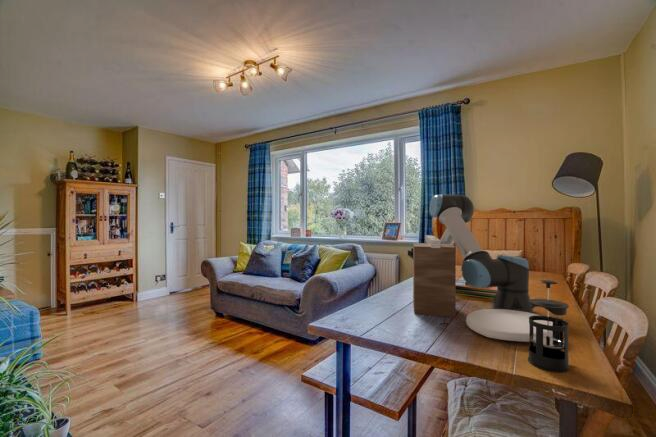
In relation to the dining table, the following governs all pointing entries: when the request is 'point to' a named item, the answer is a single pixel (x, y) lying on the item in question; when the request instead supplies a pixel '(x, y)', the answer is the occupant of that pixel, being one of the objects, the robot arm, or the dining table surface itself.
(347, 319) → the dining table surface
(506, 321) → the plate
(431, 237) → the metal bar
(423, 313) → the walnut stand
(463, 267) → the robot arm
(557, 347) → the french press
